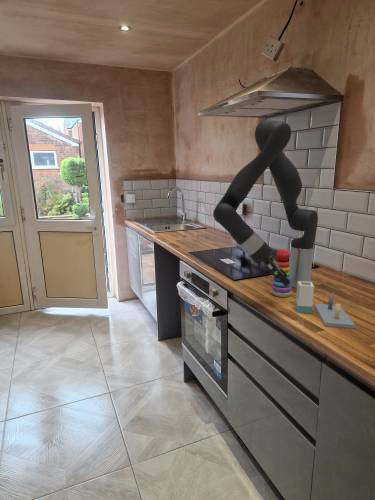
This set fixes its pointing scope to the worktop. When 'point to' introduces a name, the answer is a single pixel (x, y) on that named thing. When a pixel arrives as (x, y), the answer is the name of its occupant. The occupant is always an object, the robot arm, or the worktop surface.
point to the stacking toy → (278, 286)
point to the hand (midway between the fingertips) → (286, 280)
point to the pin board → (333, 315)
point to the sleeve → (304, 297)
